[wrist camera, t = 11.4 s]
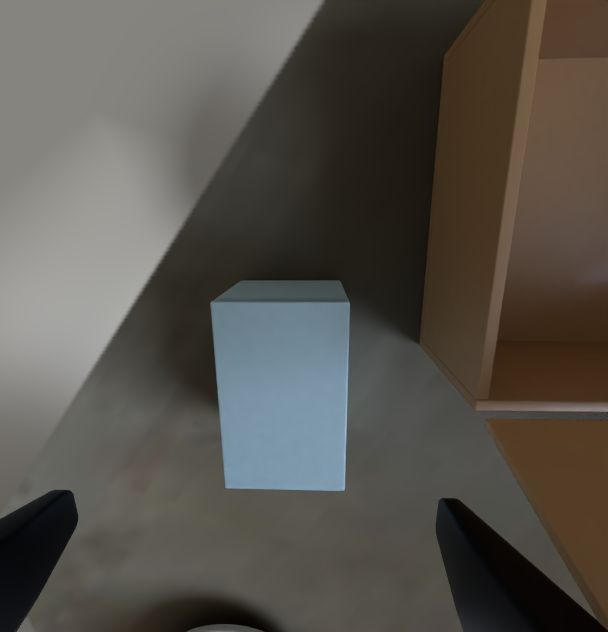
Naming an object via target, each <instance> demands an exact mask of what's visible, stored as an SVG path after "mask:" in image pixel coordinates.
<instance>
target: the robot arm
mask: <svg viewBox="0 0 608 632" xmlns="http://www.w3.org/2000/svg"><path fill="white" fill-rule="evenodd" d="M77 522H78V513H77V508H76V504H75V499H74V495H73V493H72V492H71V491H69V490H53V491H50V492H48V493H47V494H45V495H43V496H41V497H39V498H38V499H36V500H34V501H32V502H30V503H29V504H27V505H25V506H23V507H21V508H20V509H18V510H16V511H14V512H12V513H10V514H9V515H7V516H5V517H3V518H1V519H0V632H17V630H18V628H19V627H20V625H21V623H22V622H23V621H24V619H25V617H26V616H27V614H28V613H29V611H30V610H31V608H32V606H33V605H34V603H35V601H36V600H37V598H38V596H39V595H40V593H41V591H42V589H43V588H44V586H45V584H46V582H47V580H48V578H49V577H50V575H51V573H52V571H53V569H54V567H55V565H56V564H57V562H58V560H59V558H60V556H61V554H62V552H63V551H64V549H65V547H66V545H67V543H68V541H69V539H70V538H71V536H72V534H73V532H74V530H75V528H76V526H77ZM436 534H437V539H438V543H439V547H440V550H441V554H442V558H443V562H444V565H445V569H446V573H447V577H448V581H449V584H450V588H451V592H452V596H453V600H454V603H455V607H456V610H457V613H458V616H459V619H460V622H461V625H462V628H463V631H464V632H608V630H607V629H606V628H605V627H604V626H603V625H602V624H600V623H599V622H598V621H597V620H596V619H595V618H594V617H592V616H591V615H590V614H589V613H588V612H587V611H586V610H584V609H583V608H582V607H581V606H580V605H579V604H578V603H576V602H575V601H574V600H573V599H572V598H571V597H570V596H568V595H567V594H566V593H565V592H564V591H563V590H562V589H560V588H559V587H558V586H557V585H556V584H555V583H554V582H552V581H551V580H550V579H549V578H548V577H547V576H546V575H544V574H543V573H542V572H541V571H540V570H539V569H538V568H536V567H535V566H534V565H533V564H532V563H531V562H530V561H528V560H527V559H526V558H525V557H524V556H523V555H522V554H520V553H519V552H518V551H517V550H516V549H515V548H514V547H512V546H511V545H510V544H509V543H508V542H507V541H506V540H504V539H503V538H502V537H501V536H500V535H499V534H498V533H496V532H495V531H494V530H493V529H492V528H491V527H490V526H488V525H487V524H486V523H485V522H484V521H483V520H482V519H480V518H479V517H478V516H477V515H476V514H475V513H474V512H472V511H471V510H470V509H469V508H468V507H467V506H466V505H464V504H463V503H462V502H461V501H460V500H458V499H455V498H442V499H440V500H439V503H438V511H437V519H436Z"/></svg>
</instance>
